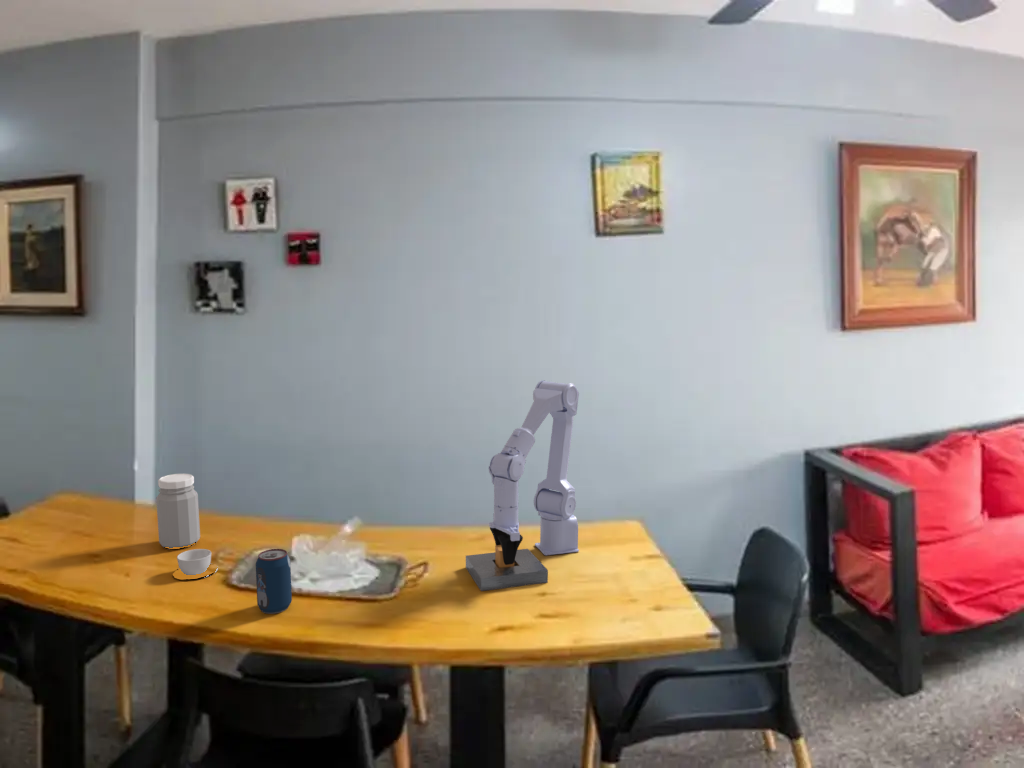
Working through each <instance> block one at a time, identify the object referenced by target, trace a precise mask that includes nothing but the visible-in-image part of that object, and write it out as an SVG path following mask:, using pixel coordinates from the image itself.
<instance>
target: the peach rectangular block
mask: <svg viewBox="0 0 1024 768" xmlns="http://www.w3.org/2000/svg"><path fill="white" fill-rule="evenodd" d="M494 547H495V564H496V566H497V567H498V568H504V567H513V566H514V564H509V565H505V564H504V560H503V552H502V547H501V545H496V544H495V545H494Z"/></svg>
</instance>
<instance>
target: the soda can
mask: <svg viewBox="0 0 1024 768" xmlns="http://www.w3.org/2000/svg"><path fill="white" fill-rule="evenodd" d="M291 570H292V569H291V558H290V557H289V555H288V551H287V550H285V549H283V548H272V549H271V548H270V549H265V550H263V551H261V552H259V553H258V556H257V559H256V561H255V575H256V576H255V581H256V602H257V606H258V608H259V610H260V611H261V612H262V613H264V614H271V615H276V614H279V613H282V612H284V611H287V609H289V607H290V605H291V603H292V601H293V598H292V597H293V596H292V571H291Z"/></svg>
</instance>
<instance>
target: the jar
mask: <svg viewBox="0 0 1024 768" xmlns="http://www.w3.org/2000/svg"><path fill="white" fill-rule="evenodd" d="M194 483H195V476H194V475H193V474H191V473H173V474H172V473H171V474H168V475H163V476H161V477H160V478H159V479H157V484H158V487H159V489H158V492H159V493H158V495H157V496H156V498H155V499H156V501H155V502H156V515H157V529H158V543H159V544H160V545H161V547H163V548H164V547H169V548H173V547H183V546H188V545H191V544H193V543H195V542H196V543H197V542H198V541H199V540H200V538H201V529H200V528H201V527H200V510H199V494H198V492H197V490H195V489H194V488H195V485H194Z"/></svg>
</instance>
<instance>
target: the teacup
mask: <svg viewBox="0 0 1024 768" xmlns="http://www.w3.org/2000/svg"><path fill="white" fill-rule="evenodd" d="M176 559H177V564H178V569H179V568H180V569H181V571H182V572H183V573H184V574H186V575H196V574H201V573H203V572H205V571H206V570H207V568H208V567H209V565H210V564H211V562H212V551H211V550H209V549H207V548H206V549H205V548H195V549H188V550H186V551H182V552H181V553H179V554H178V555H177V556H176ZM218 570H219V567H218V568H217V569H216V571H215V573H217V571H218ZM207 577H210V576H209V575H207V576H206V577H205V578H207Z"/></svg>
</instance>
